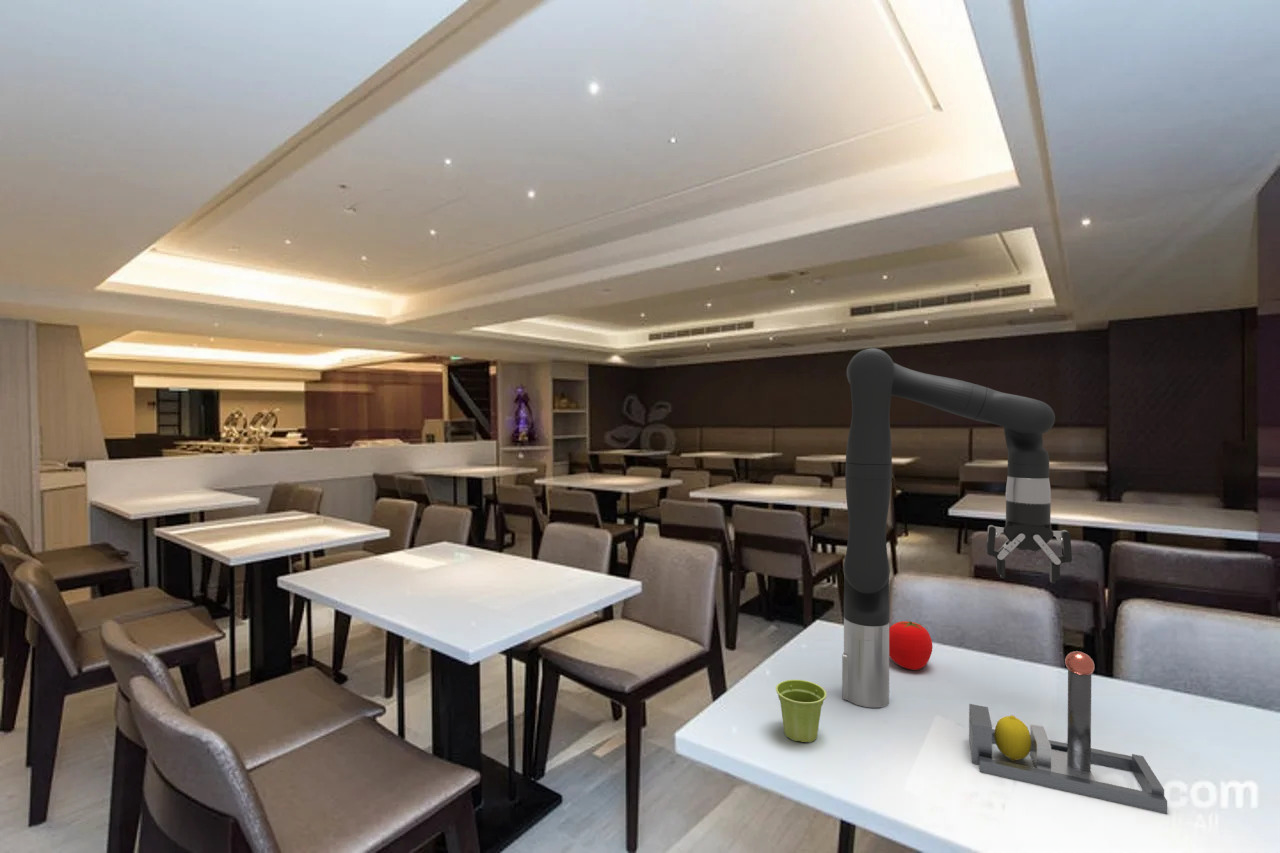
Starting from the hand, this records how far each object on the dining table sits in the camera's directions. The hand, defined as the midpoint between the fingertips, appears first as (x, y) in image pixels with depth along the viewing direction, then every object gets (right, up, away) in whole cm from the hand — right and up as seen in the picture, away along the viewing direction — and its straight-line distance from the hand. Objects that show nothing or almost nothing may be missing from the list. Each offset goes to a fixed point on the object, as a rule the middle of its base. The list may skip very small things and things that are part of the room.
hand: (1027, 579), depth 119 cm
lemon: (-12, -29, -14) cm, 34 cm away
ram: (-6, -29, -17) cm, 34 cm away
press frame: (-7, -28, -17) cm, 34 cm away
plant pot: (-47, -29, -5) cm, 55 cm away
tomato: (-12, -28, +25) cm, 40 cm away
